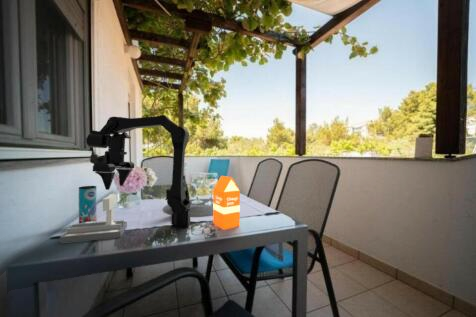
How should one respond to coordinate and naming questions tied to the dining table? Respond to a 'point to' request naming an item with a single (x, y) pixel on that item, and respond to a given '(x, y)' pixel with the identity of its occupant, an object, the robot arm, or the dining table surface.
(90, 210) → the beverage can
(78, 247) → the dining table surface
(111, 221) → the switch lever
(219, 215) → the orange juice
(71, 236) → the switch panel
